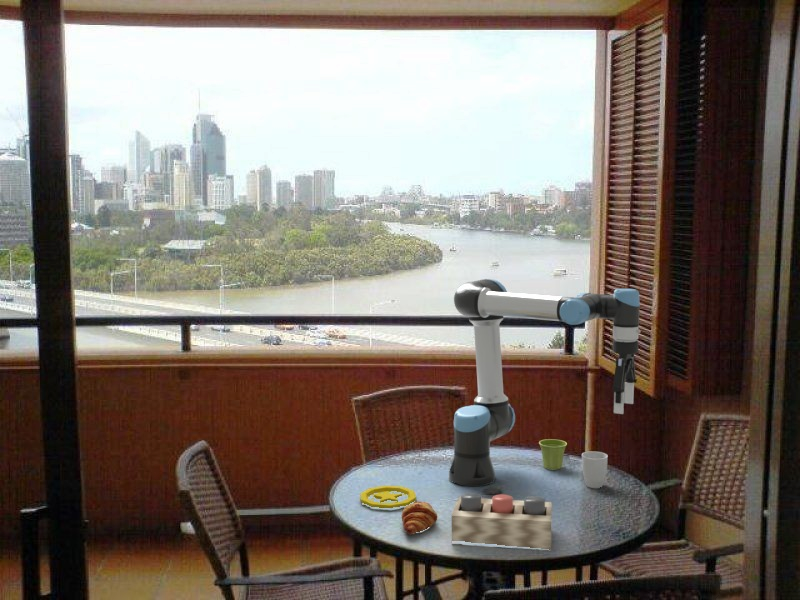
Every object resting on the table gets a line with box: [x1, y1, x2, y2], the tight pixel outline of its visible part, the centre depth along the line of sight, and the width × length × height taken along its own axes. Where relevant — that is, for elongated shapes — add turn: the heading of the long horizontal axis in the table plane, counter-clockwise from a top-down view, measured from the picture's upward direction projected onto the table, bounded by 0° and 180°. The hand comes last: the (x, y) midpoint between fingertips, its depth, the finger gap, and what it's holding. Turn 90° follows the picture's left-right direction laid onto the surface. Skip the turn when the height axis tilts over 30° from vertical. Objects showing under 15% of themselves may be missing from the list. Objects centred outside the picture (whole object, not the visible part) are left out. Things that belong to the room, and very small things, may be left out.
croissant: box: [401, 501, 438, 535], centre depth 232 cm, size 21×10×8 cm, turn 166°
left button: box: [460, 492, 482, 512], centre depth 223 cm, size 6×6×5 cm
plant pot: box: [538, 438, 568, 471], centre depth 281 cm, size 9×9×9 cm
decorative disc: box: [360, 485, 417, 508], centre depth 252 cm, size 17×18×2 cm
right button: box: [523, 495, 546, 516], centre depth 220 cm, size 6×6×5 cm
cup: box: [581, 451, 609, 489], centre depth 262 cm, size 8×8×10 cm
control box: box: [451, 496, 553, 551], centre depth 222 cm, size 26×14×8 cm, turn 79°
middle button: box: [491, 494, 514, 514], centre depth 222 cm, size 6×6×5 cm
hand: (623, 408), depth 251 cm, fingers open, 13 cm apart
